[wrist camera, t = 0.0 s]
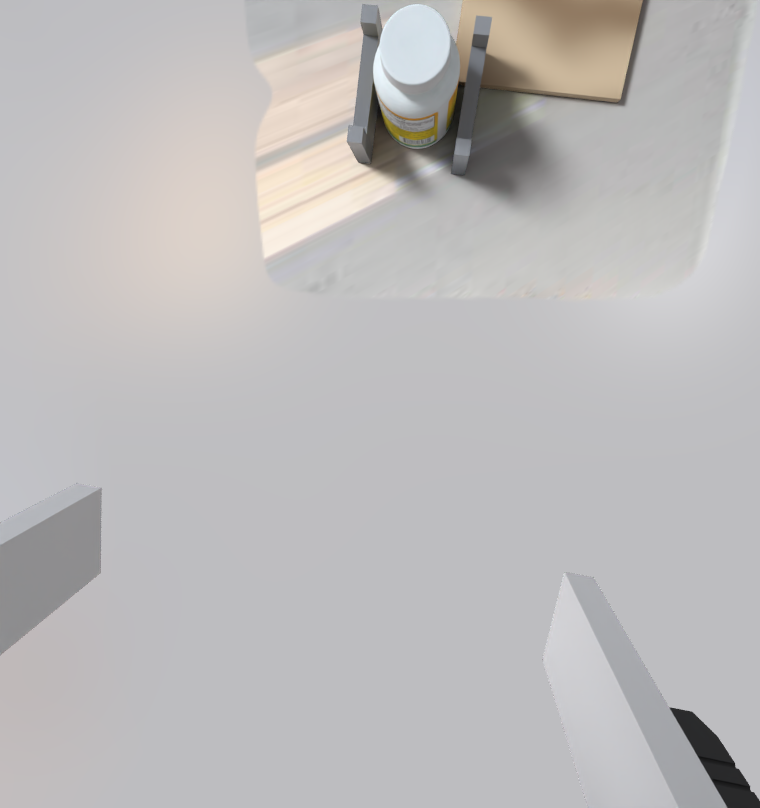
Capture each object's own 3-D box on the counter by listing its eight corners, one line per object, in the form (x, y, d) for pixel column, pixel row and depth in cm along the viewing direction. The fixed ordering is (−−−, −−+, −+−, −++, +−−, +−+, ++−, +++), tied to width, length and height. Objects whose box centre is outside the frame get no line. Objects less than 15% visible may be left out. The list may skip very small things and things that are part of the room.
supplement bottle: (413, 166, 37) (407, 121, 28) (368, 108, 36) (346, 42, 27) (470, 113, 36) (483, 48, 26) (424, 53, 35) (421, -35, 26)
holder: (372, 44, 35) (362, 4, 31) (484, 56, 35) (492, 17, 30) (358, 162, 37) (346, 141, 32) (464, 175, 37) (469, 156, 32)
